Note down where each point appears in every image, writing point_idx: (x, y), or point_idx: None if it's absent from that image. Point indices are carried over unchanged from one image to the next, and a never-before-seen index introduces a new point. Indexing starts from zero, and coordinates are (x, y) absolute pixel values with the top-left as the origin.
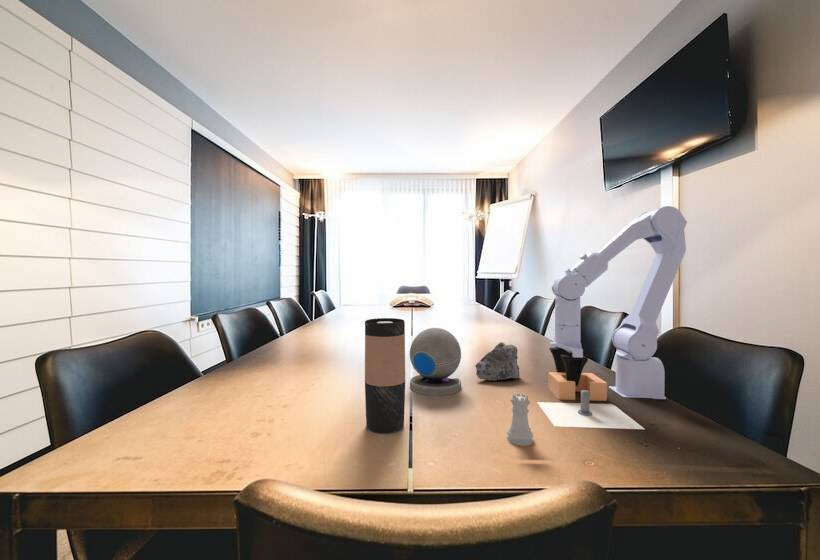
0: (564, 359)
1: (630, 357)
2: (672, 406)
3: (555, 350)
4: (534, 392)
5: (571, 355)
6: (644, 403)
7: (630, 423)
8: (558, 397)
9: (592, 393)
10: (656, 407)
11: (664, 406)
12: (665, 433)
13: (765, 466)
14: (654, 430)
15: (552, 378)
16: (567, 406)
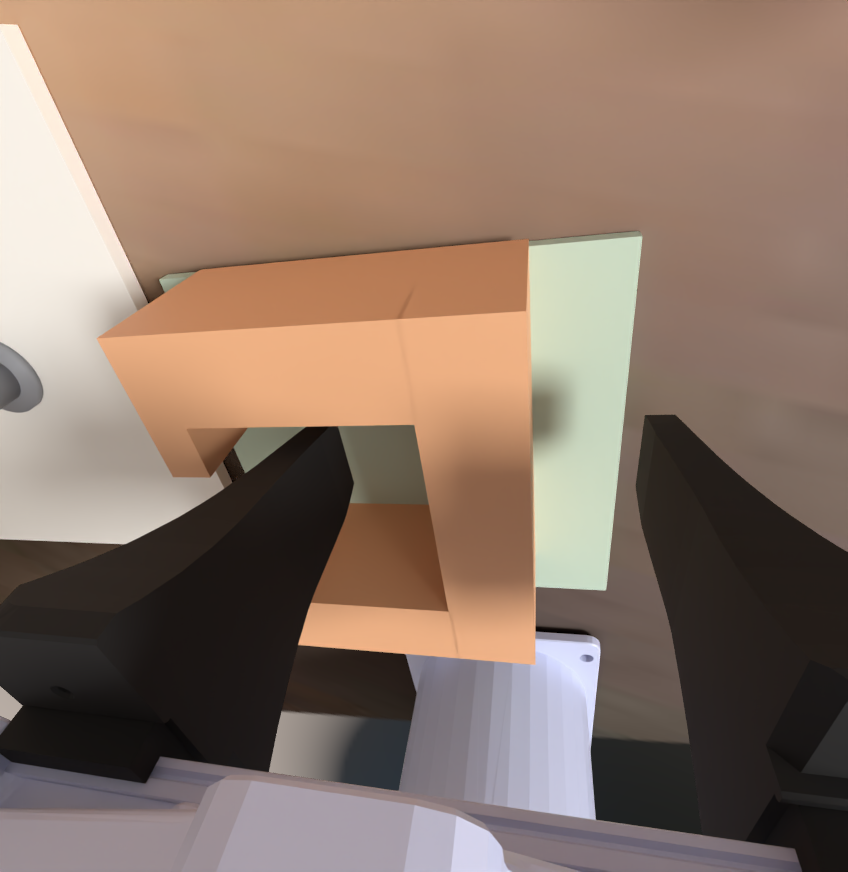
0: (8, 599)
1: None
2: (357, 706)
3: (782, 709)
4: (414, 42)
5: (59, 726)
6: (364, 655)
7: (15, 517)
8: (193, 275)
9: None
10: (323, 666)
11: (347, 689)
12: (35, 576)
13: None
14: (40, 561)
15: (331, 311)
16: (64, 300)
